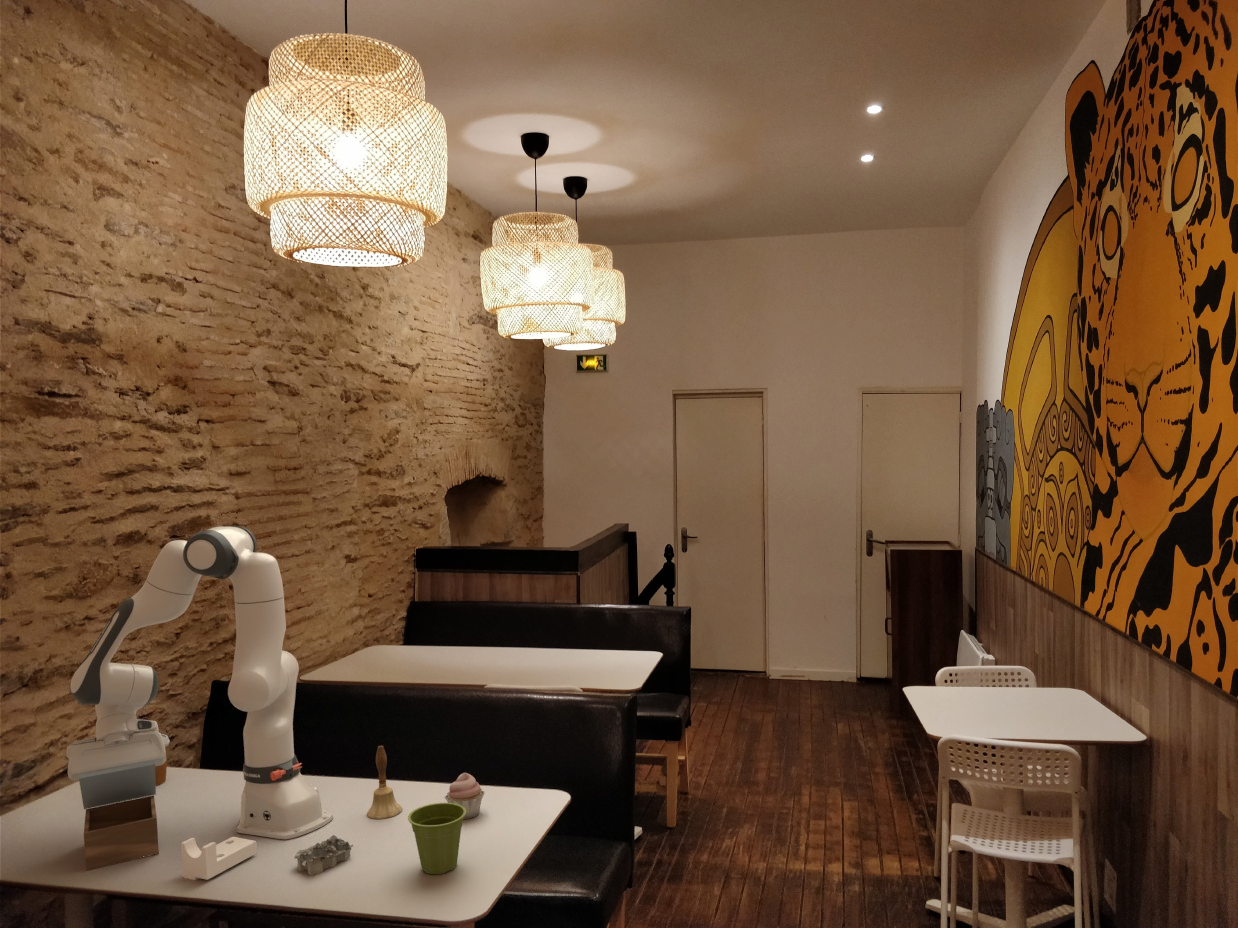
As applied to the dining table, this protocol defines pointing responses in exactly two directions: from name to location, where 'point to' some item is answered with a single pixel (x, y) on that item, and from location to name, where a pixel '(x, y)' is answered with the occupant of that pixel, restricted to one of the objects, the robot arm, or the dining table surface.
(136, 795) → the lid
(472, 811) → the cupcake
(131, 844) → the box
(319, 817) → the robot arm
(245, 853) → the bracket
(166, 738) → the disposable coffee cup
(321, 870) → the egg carton
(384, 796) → the hand bell
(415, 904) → the dining table surface
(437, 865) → the plant pot
